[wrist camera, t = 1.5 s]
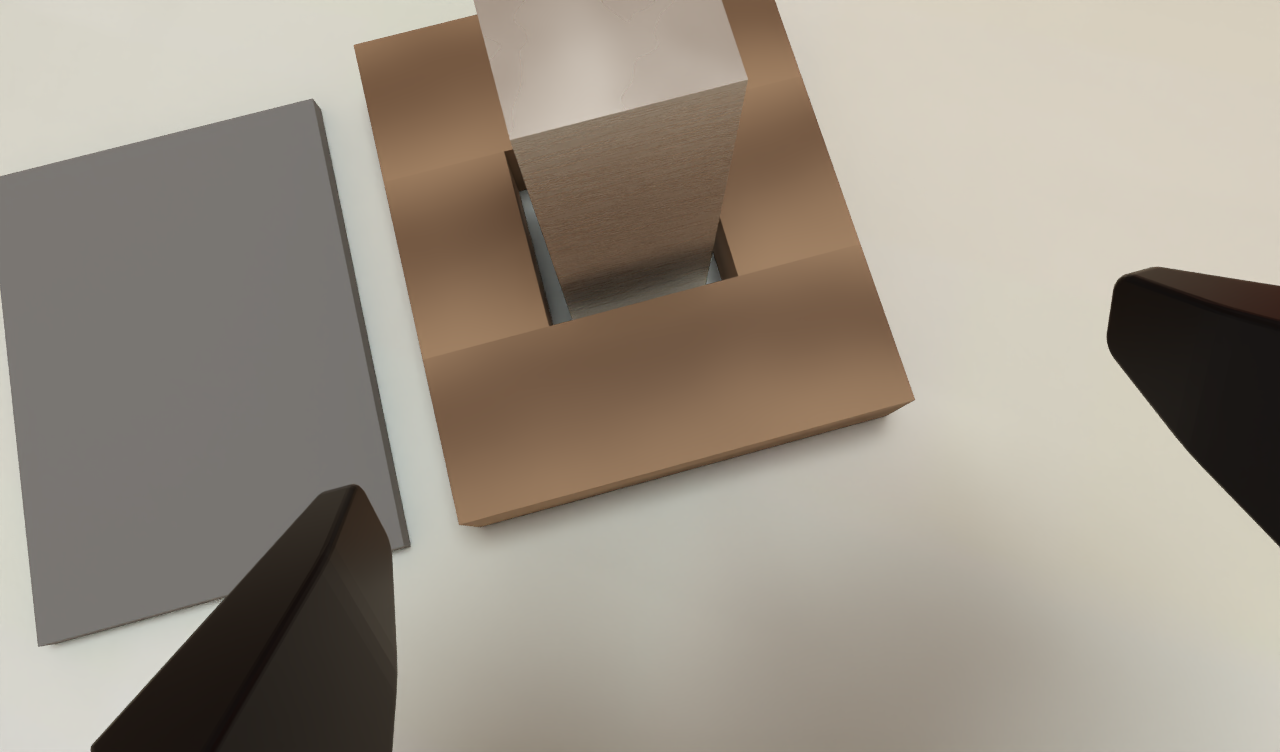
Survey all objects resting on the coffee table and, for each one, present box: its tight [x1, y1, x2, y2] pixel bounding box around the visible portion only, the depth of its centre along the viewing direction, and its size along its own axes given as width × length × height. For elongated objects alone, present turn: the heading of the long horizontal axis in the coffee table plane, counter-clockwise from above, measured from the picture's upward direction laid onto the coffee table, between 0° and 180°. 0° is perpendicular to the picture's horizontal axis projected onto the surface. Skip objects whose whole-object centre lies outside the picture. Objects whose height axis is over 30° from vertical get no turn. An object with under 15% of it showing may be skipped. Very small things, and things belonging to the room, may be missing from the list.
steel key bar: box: [474, 0, 748, 320], centre depth 19 cm, size 4×4×11 cm
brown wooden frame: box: [354, 0, 915, 527], centre depth 23 cm, size 14×12×2 cm
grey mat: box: [0, 99, 410, 647], centre depth 23 cm, size 14×10×1 cm
